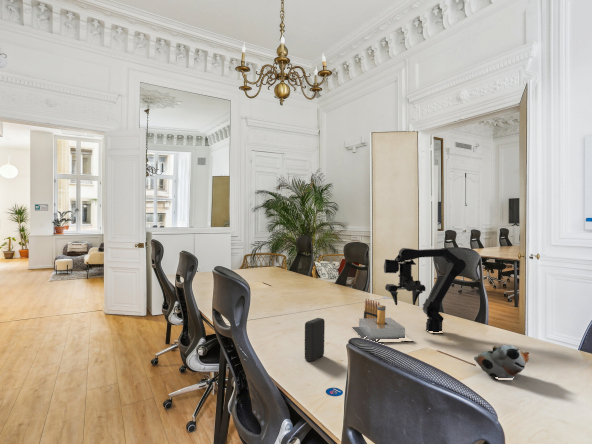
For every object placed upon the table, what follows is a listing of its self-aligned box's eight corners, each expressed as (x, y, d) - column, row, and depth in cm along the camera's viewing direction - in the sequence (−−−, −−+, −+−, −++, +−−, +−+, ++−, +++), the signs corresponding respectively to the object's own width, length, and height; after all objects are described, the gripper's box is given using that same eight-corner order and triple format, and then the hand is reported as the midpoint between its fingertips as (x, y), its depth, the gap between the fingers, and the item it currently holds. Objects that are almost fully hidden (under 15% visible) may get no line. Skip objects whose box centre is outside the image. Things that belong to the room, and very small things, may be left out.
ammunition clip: (363, 320, 186) (363, 298, 186) (365, 319, 187) (366, 298, 187) (378, 325, 177) (378, 302, 177) (381, 324, 178) (381, 301, 178)
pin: (385, 332, 163) (386, 305, 163) (384, 335, 160) (384, 307, 160) (377, 331, 165) (378, 304, 165) (376, 333, 161) (376, 306, 161)
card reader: (317, 353, 138) (317, 316, 138) (325, 355, 136) (325, 318, 136) (303, 360, 131) (303, 321, 131) (311, 363, 129) (312, 323, 129)
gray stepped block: (393, 326, 174) (393, 316, 174) (413, 341, 153) (413, 329, 153) (351, 328, 172) (352, 317, 172) (366, 343, 150) (366, 331, 150)
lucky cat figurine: (497, 364, 129) (518, 336, 125) (520, 390, 118) (544, 361, 114) (466, 356, 125) (487, 327, 121) (488, 383, 114) (512, 352, 110)
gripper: (394, 276, 159) (394, 309, 159) (431, 275, 161) (431, 308, 161) (385, 272, 170) (384, 303, 170) (420, 272, 172) (419, 303, 172)
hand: (405, 304), depth 168 cm, fingers open, 9 cm apart
